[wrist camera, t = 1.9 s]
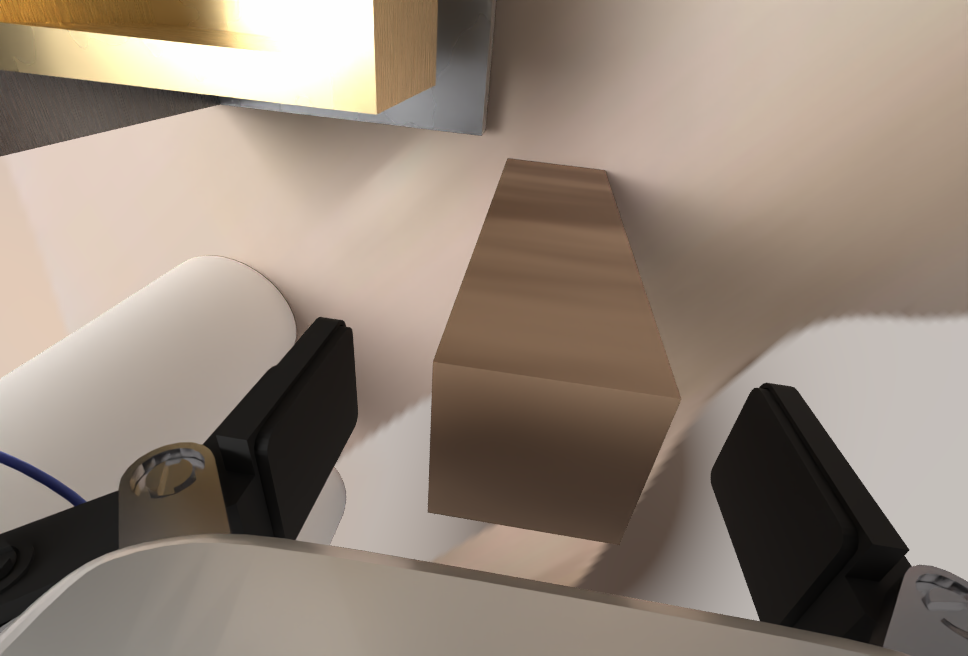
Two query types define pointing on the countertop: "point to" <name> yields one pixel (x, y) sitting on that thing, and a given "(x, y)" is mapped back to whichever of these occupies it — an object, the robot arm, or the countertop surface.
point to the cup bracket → (240, 62)
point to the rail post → (549, 365)
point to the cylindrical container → (135, 384)
